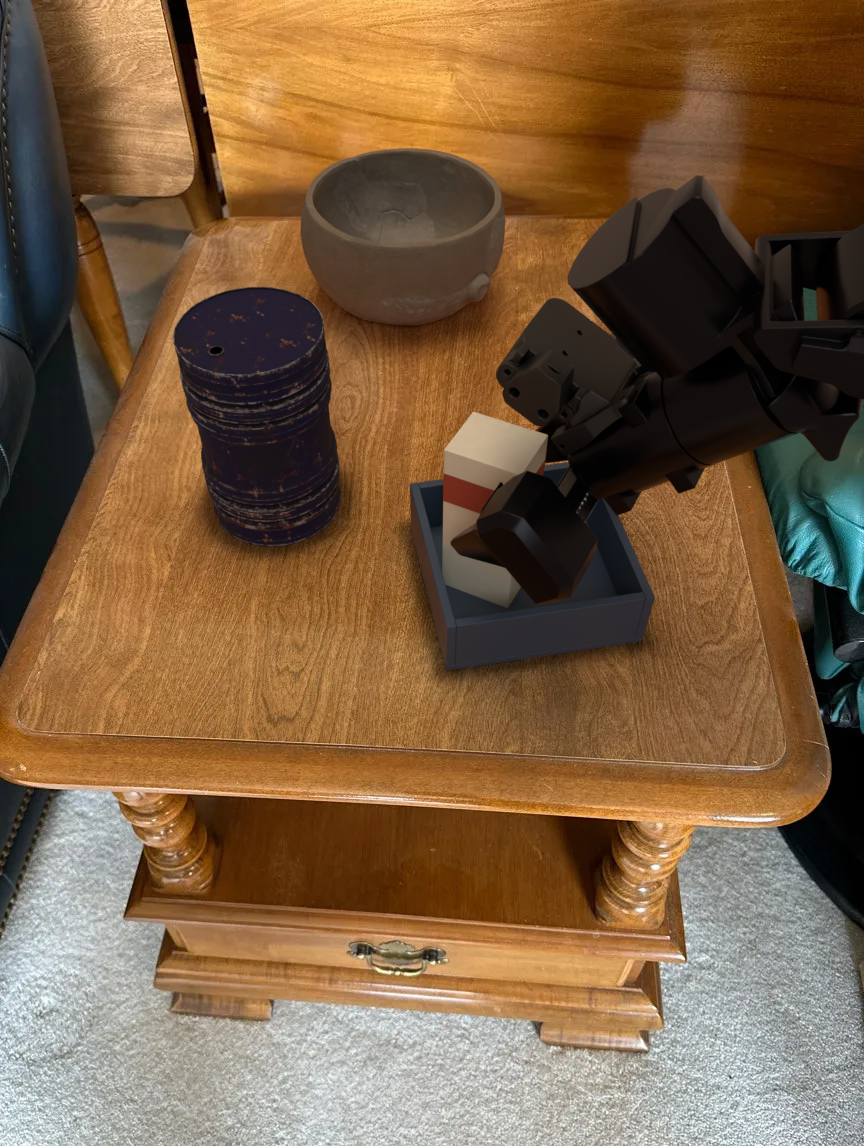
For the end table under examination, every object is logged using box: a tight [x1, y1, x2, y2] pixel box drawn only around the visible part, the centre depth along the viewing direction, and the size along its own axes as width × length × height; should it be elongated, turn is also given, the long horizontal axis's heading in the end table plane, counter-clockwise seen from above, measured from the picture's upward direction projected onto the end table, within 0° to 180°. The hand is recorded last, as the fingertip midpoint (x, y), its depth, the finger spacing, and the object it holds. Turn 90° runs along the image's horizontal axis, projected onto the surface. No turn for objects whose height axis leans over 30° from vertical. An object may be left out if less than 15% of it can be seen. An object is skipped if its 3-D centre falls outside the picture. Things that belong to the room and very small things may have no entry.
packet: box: [442, 411, 548, 608], centre depth 62 cm, size 5×4×12 cm
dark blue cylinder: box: [172, 286, 342, 547], centre depth 67 cm, size 10×10×15 cm
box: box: [409, 461, 656, 672], centre depth 65 cm, size 13×13×4 cm
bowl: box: [300, 147, 506, 326], centre depth 85 cm, size 17×18×10 cm
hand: (487, 500), depth 61 cm, fingers open, 9 cm apart
